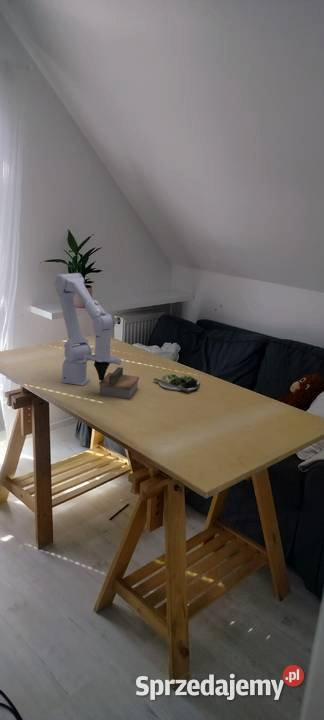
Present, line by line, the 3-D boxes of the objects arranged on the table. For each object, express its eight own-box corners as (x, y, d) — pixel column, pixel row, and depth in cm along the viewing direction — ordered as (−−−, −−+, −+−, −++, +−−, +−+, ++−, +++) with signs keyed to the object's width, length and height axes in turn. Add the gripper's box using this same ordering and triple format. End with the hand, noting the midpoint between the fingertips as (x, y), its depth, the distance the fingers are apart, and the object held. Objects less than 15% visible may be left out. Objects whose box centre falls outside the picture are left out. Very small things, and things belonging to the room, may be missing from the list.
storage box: (99, 394, 199) (100, 385, 198) (109, 384, 210) (109, 375, 209) (129, 399, 197) (130, 390, 196) (137, 388, 208) (138, 379, 207)
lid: (99, 385, 197) (99, 375, 196) (109, 374, 209) (109, 365, 208) (130, 390, 195) (131, 380, 194) (138, 379, 207) (139, 369, 206)
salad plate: (148, 389, 209) (149, 379, 207) (157, 375, 225) (158, 365, 224) (195, 396, 206) (197, 385, 204) (201, 381, 222) (202, 371, 221)
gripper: (80, 346, 192) (80, 380, 196) (118, 351, 189) (116, 385, 193) (87, 341, 198) (86, 374, 203) (123, 346, 196) (121, 379, 200)
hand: (101, 379), depth 199 cm, fingers closed
